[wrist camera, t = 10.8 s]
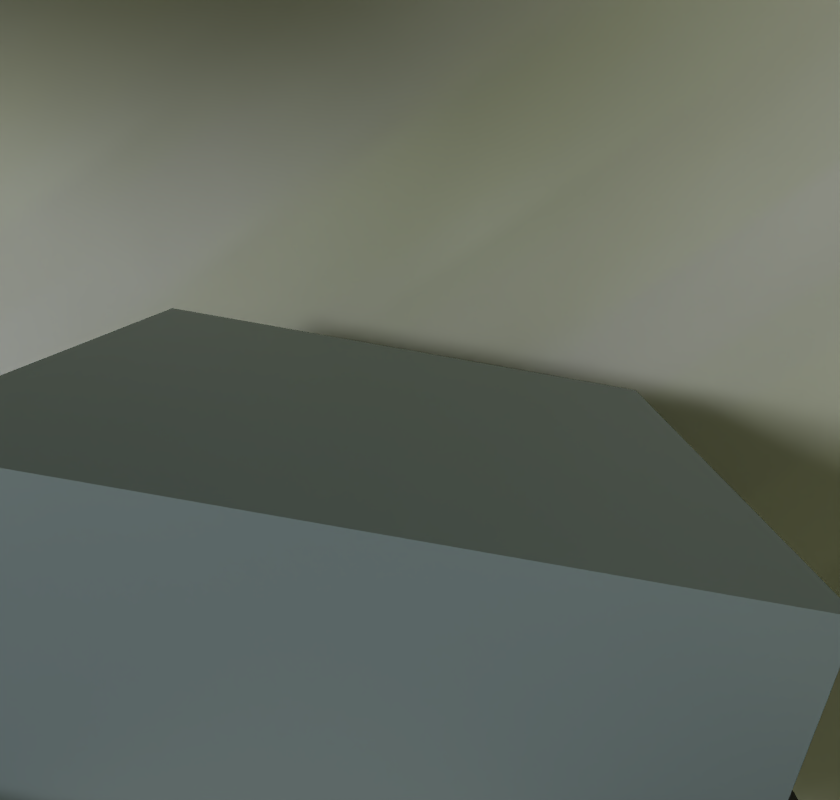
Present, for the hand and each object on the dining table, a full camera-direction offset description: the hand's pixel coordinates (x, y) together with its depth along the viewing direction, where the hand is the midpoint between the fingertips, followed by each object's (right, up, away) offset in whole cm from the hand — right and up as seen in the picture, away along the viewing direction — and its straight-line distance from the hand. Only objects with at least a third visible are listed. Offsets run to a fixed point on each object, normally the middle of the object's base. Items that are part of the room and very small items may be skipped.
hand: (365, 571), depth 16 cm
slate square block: (0, 0, +1) cm, 1 cm away
